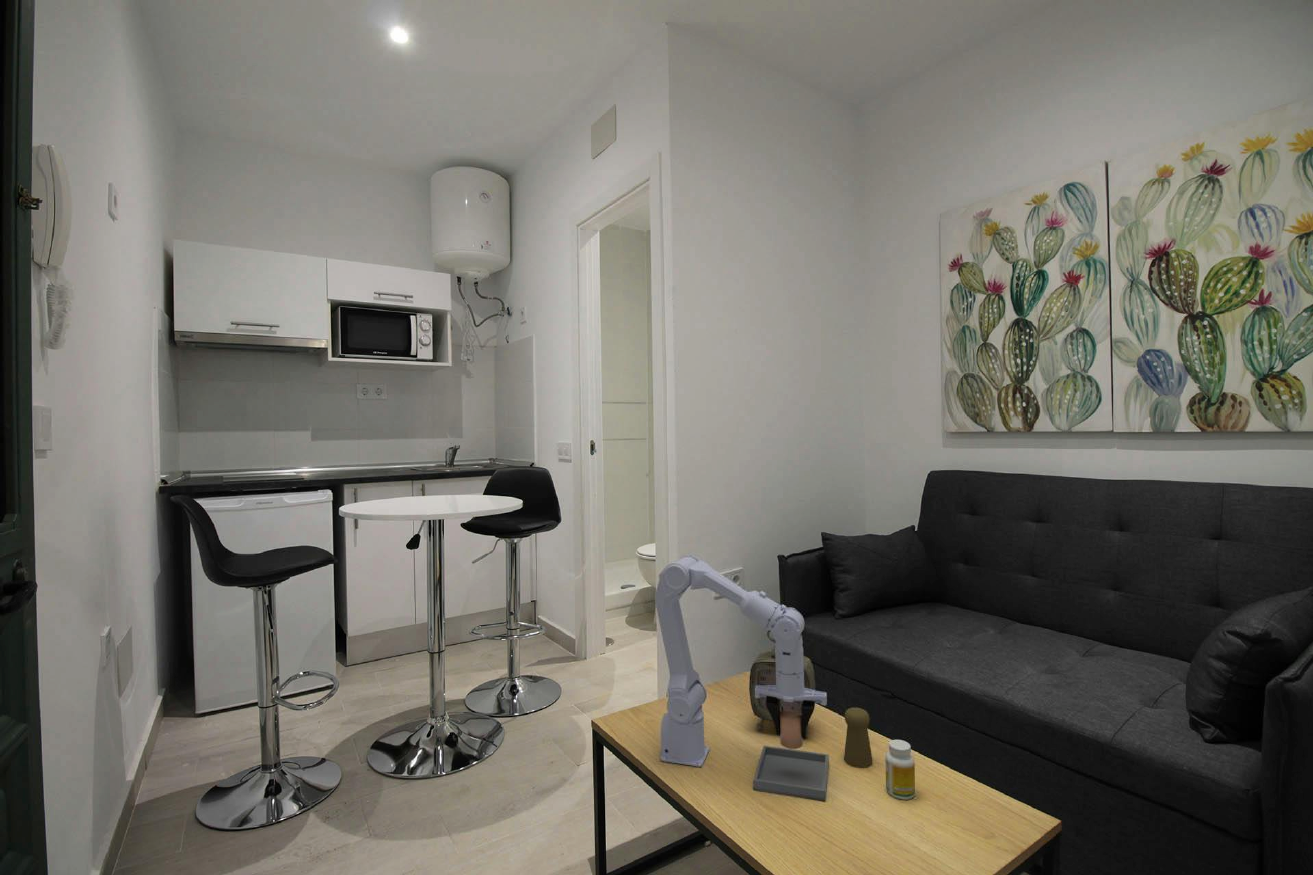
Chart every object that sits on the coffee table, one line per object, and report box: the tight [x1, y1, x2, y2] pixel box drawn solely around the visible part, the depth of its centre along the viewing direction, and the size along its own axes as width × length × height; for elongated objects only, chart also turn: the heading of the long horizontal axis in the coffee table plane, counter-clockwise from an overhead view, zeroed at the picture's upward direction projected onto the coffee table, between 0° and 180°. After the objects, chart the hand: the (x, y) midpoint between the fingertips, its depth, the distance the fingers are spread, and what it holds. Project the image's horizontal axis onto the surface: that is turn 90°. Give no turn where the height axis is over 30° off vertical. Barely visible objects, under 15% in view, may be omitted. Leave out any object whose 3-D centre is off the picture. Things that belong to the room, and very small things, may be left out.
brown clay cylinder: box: [779, 709, 804, 750], centre depth 127 cm, size 5×5×6 cm
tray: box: [752, 745, 830, 802], centre depth 127 cm, size 14×14×2 cm
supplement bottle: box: [884, 739, 916, 801], centre depth 120 cm, size 5×5×10 cm
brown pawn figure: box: [843, 707, 874, 769], centre depth 132 cm, size 6×6×11 cm
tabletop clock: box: [748, 629, 816, 739], centre depth 147 cm, size 14×9×25 cm, turn 67°
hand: (791, 734), depth 127 cm, fingers closed on brown clay cylinder, 5 cm apart
